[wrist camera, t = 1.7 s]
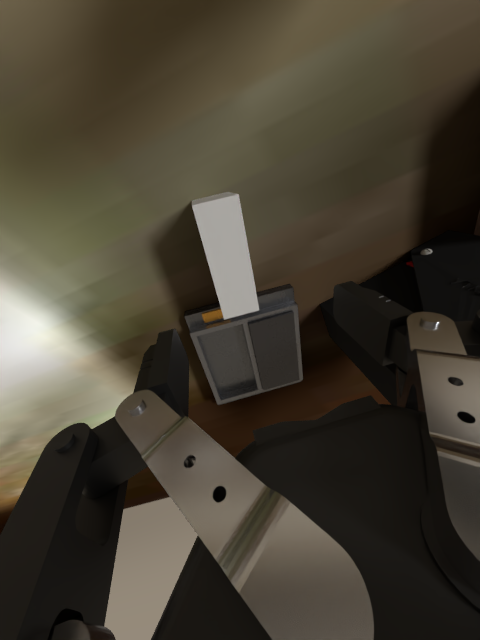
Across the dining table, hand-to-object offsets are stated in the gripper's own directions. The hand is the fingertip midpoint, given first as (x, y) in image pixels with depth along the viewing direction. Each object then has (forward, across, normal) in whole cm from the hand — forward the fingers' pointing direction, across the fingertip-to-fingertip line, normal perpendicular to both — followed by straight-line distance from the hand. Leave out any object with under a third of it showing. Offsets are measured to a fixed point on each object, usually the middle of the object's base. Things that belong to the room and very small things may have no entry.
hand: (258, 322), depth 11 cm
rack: (+15, 0, +14) cm, 21 cm away
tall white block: (+15, 0, 0) cm, 15 cm away
